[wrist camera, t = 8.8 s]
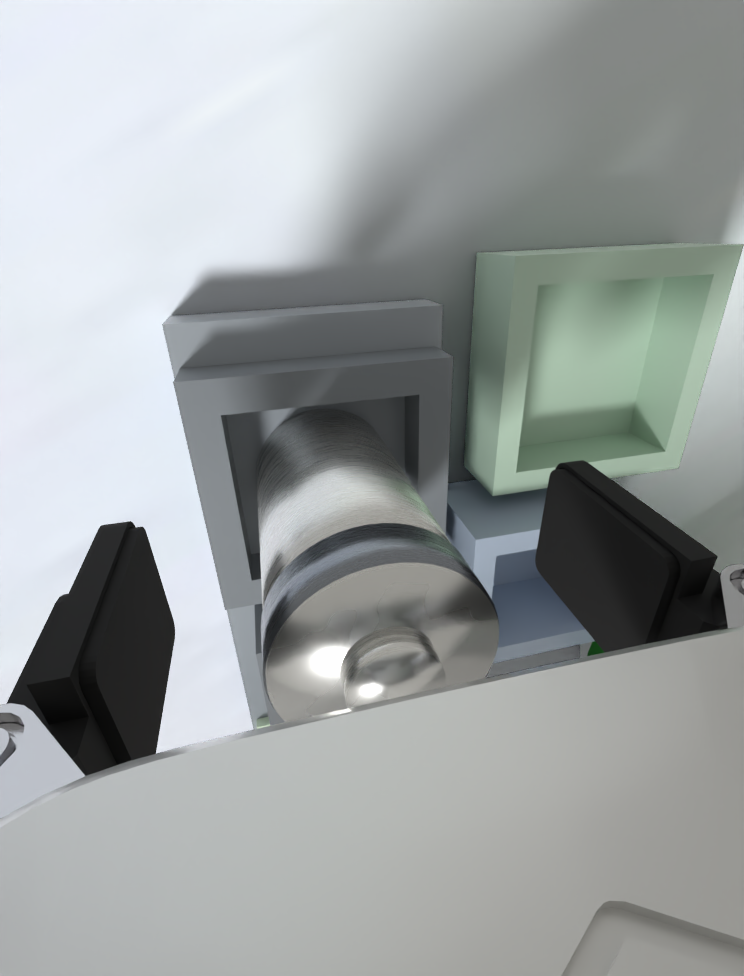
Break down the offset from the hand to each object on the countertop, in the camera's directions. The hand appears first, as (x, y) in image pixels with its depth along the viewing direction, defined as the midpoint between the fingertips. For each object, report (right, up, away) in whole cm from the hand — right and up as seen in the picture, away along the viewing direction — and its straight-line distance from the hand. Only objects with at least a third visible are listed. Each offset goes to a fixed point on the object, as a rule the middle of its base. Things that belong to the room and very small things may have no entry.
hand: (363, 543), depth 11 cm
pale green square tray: (+7, +6, +7) cm, 12 cm away
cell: (-1, +2, +5) cm, 5 cm away
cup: (+6, -1, +10) cm, 12 cm away
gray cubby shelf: (-2, -1, +8) cm, 8 cm away
